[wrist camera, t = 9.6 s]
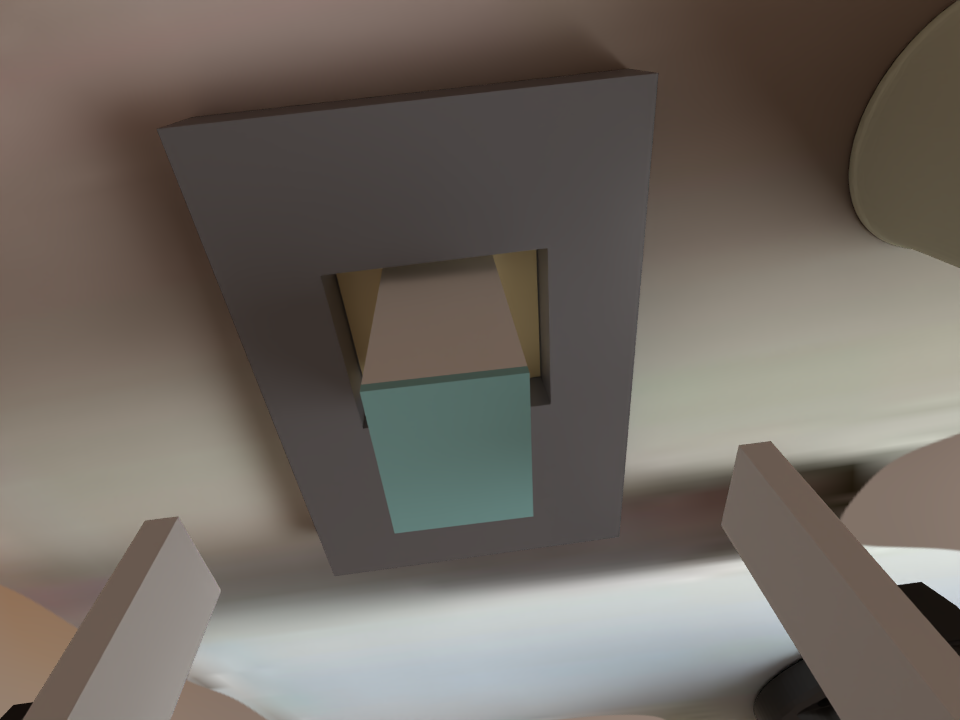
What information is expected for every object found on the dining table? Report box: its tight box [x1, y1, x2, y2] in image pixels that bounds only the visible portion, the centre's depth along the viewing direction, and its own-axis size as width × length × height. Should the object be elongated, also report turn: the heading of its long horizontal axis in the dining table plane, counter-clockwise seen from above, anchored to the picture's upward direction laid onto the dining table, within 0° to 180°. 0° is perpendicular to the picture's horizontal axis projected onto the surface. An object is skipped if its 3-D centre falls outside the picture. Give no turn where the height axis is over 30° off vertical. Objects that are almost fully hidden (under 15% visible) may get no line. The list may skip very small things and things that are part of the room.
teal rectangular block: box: [360, 255, 533, 533], centre depth 17 cm, size 5×4×8 cm
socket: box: [157, 69, 658, 576], centre depth 21 cm, size 20×14×2 cm
